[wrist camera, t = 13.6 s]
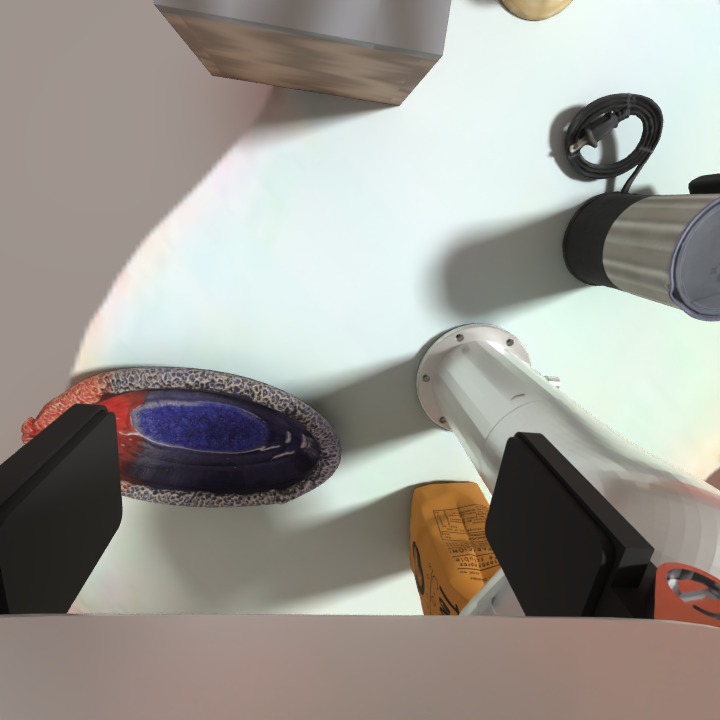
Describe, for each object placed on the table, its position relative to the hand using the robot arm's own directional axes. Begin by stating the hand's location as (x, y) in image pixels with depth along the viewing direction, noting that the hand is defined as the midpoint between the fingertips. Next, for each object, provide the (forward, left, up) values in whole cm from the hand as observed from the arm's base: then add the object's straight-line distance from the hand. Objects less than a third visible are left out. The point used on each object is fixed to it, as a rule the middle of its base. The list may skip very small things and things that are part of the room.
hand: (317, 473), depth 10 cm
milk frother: (-27, -10, -35) cm, 45 cm away
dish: (+11, +18, -35) cm, 41 cm away
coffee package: (-18, +29, -34) cm, 49 cm away
